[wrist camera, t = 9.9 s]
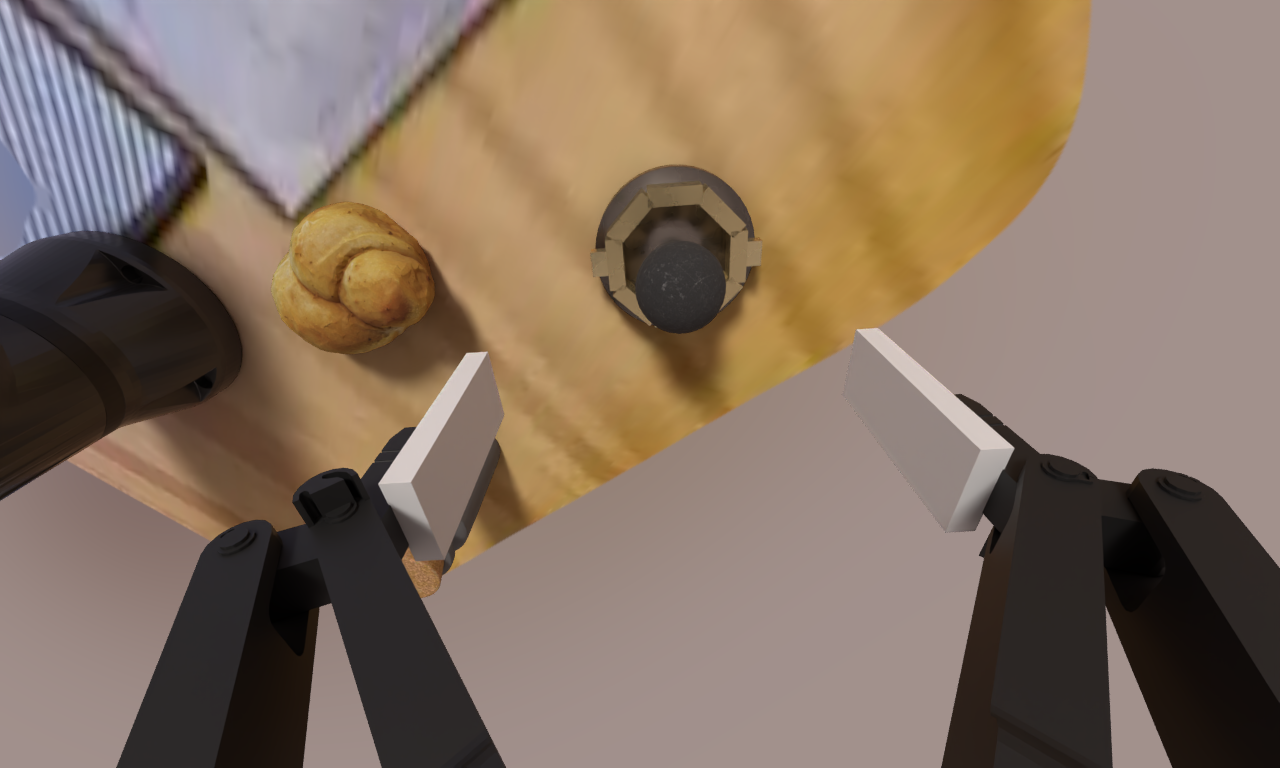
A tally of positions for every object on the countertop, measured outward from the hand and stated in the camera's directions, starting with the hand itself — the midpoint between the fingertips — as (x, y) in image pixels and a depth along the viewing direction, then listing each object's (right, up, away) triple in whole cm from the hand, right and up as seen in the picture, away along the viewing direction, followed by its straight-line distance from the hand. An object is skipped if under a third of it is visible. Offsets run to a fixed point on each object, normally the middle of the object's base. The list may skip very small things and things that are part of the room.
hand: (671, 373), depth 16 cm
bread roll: (-23, +8, +20) cm, 32 cm away
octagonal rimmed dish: (+1, +10, +19) cm, 22 cm away
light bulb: (+1, +9, +18) cm, 20 cm away
